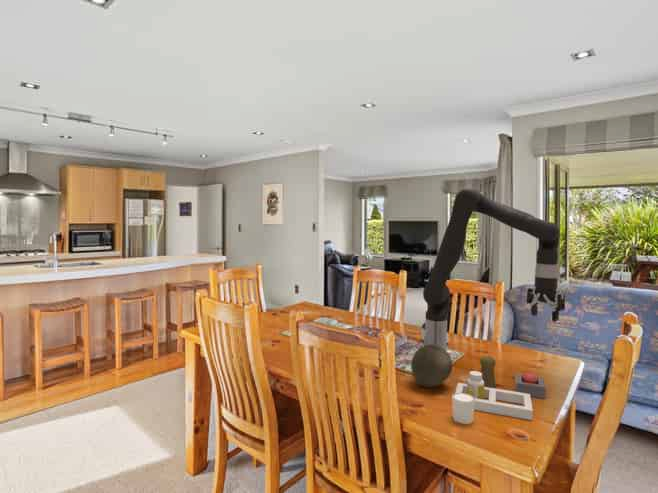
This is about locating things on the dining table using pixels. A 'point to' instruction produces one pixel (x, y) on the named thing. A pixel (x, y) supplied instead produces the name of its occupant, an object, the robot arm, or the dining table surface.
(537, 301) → the robot arm
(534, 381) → the button
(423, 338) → the spread jar
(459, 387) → the window frame
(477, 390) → the supplement bottle
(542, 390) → the button housing
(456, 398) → the white cylinder
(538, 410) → the dining table surface
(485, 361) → the olive gourd
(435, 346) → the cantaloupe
